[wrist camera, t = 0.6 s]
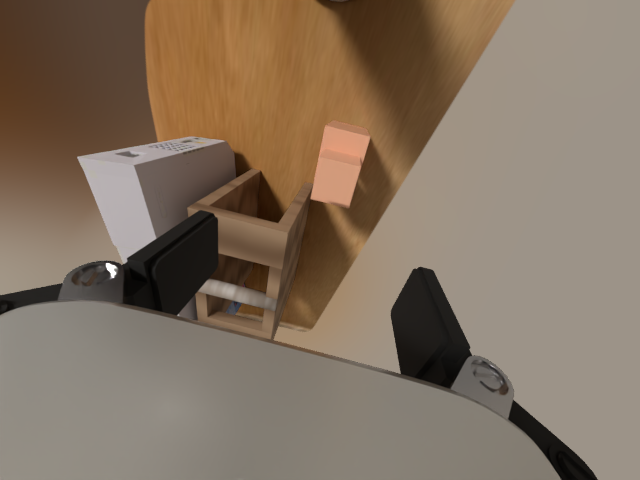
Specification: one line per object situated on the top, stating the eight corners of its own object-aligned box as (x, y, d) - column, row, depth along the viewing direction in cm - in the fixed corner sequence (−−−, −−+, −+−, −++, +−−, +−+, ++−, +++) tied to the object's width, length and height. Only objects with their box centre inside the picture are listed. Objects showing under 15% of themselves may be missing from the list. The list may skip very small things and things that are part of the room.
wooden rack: (252, 168, 40) (182, 210, 24) (313, 184, 40) (286, 236, 24) (246, 267, 51) (196, 340, 35) (294, 279, 51) (266, 358, 35)
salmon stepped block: (333, 120, 35) (319, 129, 20) (365, 128, 35) (374, 143, 20) (321, 175, 39) (302, 214, 25) (350, 182, 39) (347, 226, 25)
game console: (219, 265, 52) (152, 343, 35) (199, 134, 38) (74, 156, 21) (244, 270, 52) (189, 350, 35) (233, 139, 38) (133, 165, 21)
